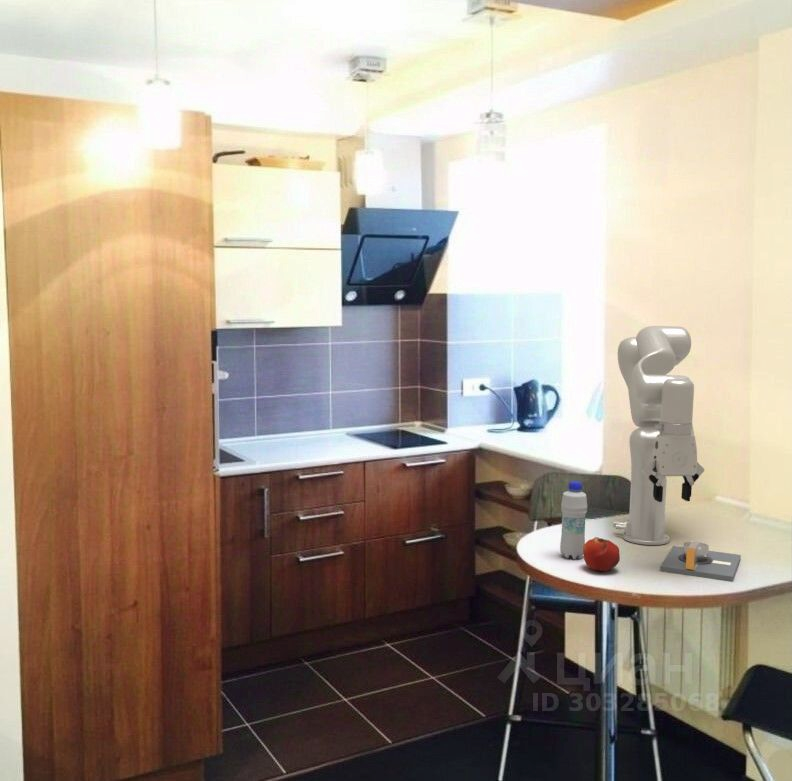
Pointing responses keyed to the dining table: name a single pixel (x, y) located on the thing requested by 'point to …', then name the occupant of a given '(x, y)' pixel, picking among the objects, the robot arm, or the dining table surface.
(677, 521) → the dining table surface
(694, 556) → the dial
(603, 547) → the tomato
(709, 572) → the panel
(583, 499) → the bottle
